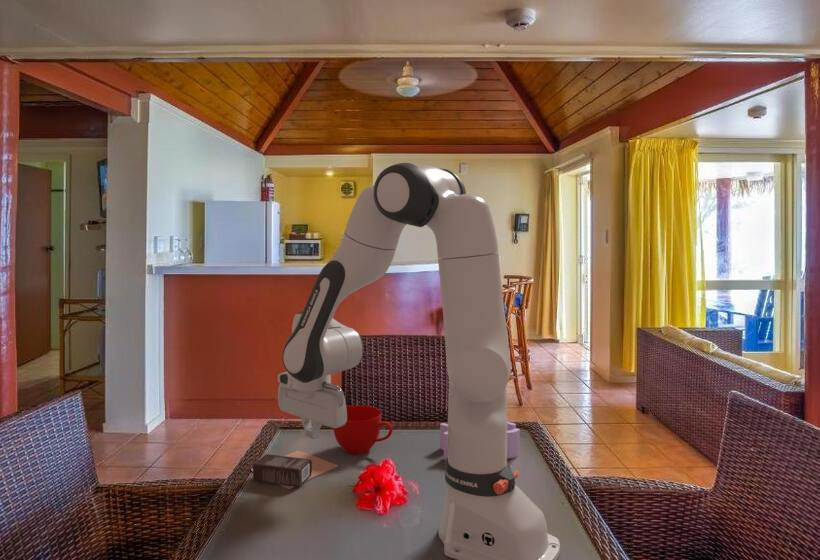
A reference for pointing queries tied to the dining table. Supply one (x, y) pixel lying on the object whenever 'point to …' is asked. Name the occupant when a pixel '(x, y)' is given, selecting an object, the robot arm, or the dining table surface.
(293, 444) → the dining table surface
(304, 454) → the mat
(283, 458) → the box
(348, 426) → the ceramic cup
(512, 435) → the clip
